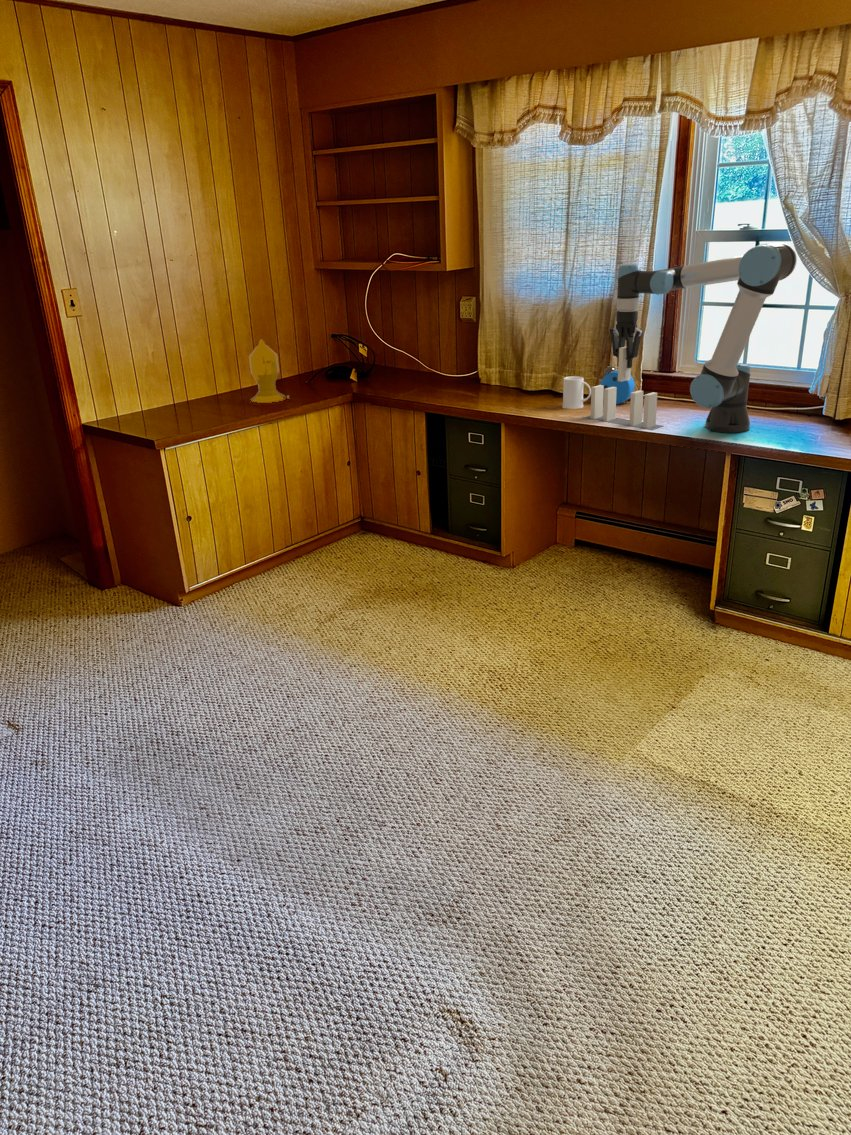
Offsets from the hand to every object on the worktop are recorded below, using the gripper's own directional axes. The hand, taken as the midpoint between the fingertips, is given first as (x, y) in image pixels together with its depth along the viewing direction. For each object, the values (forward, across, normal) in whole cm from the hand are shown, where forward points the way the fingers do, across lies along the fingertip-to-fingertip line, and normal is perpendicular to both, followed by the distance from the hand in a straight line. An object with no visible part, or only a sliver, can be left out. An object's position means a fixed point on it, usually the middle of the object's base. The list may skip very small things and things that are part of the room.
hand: (624, 376), depth 309 cm
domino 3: (+1, 0, 0) cm, 1 cm away
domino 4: (+17, -6, 0) cm, 18 cm away
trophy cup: (+18, +149, +62) cm, 162 cm away
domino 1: (+17, +12, 0) cm, 21 cm away
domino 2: (+17, +6, 0) cm, 18 cm away
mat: (+17, 0, 0) cm, 17 cm away
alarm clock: (+18, +22, -26) cm, 38 cm away
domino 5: (+17, -12, 0) cm, 21 cm away
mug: (+18, +30, -10) cm, 36 cm away
